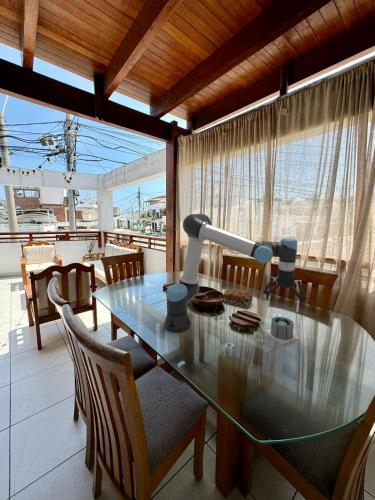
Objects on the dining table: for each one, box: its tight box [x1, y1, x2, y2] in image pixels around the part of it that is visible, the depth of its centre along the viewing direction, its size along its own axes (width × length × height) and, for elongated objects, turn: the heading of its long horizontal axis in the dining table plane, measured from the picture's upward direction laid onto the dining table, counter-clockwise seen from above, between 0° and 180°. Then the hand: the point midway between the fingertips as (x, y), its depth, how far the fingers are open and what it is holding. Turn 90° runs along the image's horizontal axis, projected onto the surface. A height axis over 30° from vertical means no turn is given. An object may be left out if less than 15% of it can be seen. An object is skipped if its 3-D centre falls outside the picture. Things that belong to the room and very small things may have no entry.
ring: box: [270, 316, 295, 340], centre depth 114 cm, size 10×10×7 cm
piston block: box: [264, 321, 300, 345], centre depth 114 cm, size 12×12×7 cm
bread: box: [223, 288, 254, 309], centre depth 154 cm, size 19×11×10 cm, turn 57°
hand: (282, 308), depth 112 cm, fingers open, 13 cm apart
